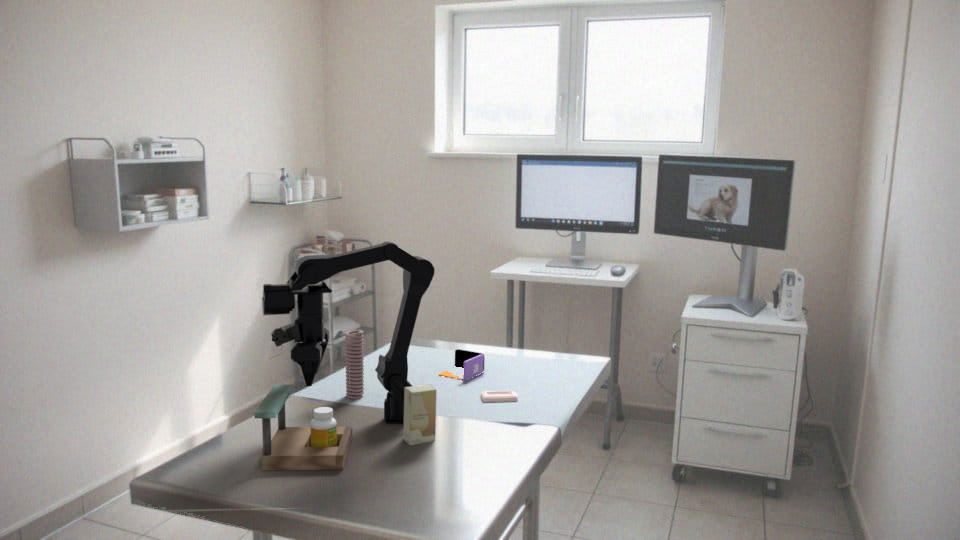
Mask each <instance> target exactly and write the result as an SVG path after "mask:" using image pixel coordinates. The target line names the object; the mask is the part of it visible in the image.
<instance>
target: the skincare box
mask: <svg viewBox="0 0 960 540" xmlns="http://www.w3.org/2000/svg"><path fill="white" fill-rule="evenodd" d="M436 419H437V389H436V388H435V387H434V386H433V385H431V384H423V385H421V384H419V385H412V387H405V389H404V423H403V433H402V434H403V437H402V439H403V440H404V441H405V443H407V444H408V445H409V446H414V445H419V444H425V443H430V442H435V441H436V426H437V425H436V423H437V421H436Z"/></svg>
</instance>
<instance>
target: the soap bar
mask: <svg viewBox="0 0 960 540" xmlns="http://www.w3.org/2000/svg"><path fill="white" fill-rule="evenodd" d="M480 397H481V399H482V402H483V403H498V402H499V403H501V402H504V403H505V402H517V401H518V400H519V397H518V395H517V393H516V391H515V390H484V391H483V390H482V391H481V392H480Z"/></svg>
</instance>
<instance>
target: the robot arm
mask: <svg viewBox="0 0 960 540" xmlns="http://www.w3.org/2000/svg"><path fill="white" fill-rule="evenodd" d="M386 261H390V262H392V263H393V264H395V265H396V266H397V267H399V268H401V269H403V271H402V287H403V294H402V297H401V302H400V306H399V310H398V313H397V318H396V322H395V325H394V328H393V333H392V338H391V341H390V346H389V348H388V350H387V352H386V353H385V355H382V354H379V355H378V364H377V365H376V368H375V369H374V371H375V372H376V377H377V380H378V381H379V383H380V384H381V386H382V387H383V388H384V390H385V391H387V393H386V398H385V399H384V401H383V413H384V414H383V415H384V417H383V419H385V424H404V389H405V387H412V386H413V385H412V384H411V382H410V381H409V380H408V376H409V375H408V374H409V364H408V363H409V362H408V355H409V354H408V353H409V349H410V345H411V342H412V336H413V334H414V330H415V327H416V321H417V317H418V314H419V309H420V306H421V302H422V301H421V300H422V298H423V296H424V295H425V293H426V292H427V290H428V289H429V288H430V285H431V284H432V281H433V278H434V276H435V267H434V265H433V263H432V262H430V261H429V260H427V259H425V258H424V257H422V256H418V255H412V254H410V253H408V251H407V252H406V251H405V250H403V249H402V248H400V247H399V246H398V245H397V244H396V243H394V242H391V241H389V240H388V241H383V242H382V243H379V244H374V245H369V246H365V247H361V248H358V249H354V250H349V251H344V252H340V253H336V254H315V255H312V254H311V255H303V256H302V257H300V258H299V259H298V260H297V262H296V263H295V268H294V269H295V271H294V272H293V273H292V275H291V276H290V277H289V279H288V280H287V282H286V283H284V284H283V283H280V284H278V283H277V284H272V283H271V284H270V283H264V284H263V286H262V288H263V289H262V296H261V304H262V306H261V307H262V314H263V316H275V315H276V316H278V315H279V316H280V315H290V314H291V312H293V311H294V310H295V309H296V308H297V310H296V311H297V313H296V315H297V317H296V319H294V322H292V323H289V324H287V325H283V326H282V325H281V326H280V327H276V328H275V329H274V330H272V331H271V333H270V335H271V341H272V342H273V343H274V345H275V347H277V348H278V347H280V346H282V345H284V344H286V343H289V342H291V341H292V342H293V341H294V343H295V344H294V345H293V346H292V348H291V350H290V360H292V361H293V362H295V363H297V364H298V366H300V369H301V373H302V376H303V379H304V383H305V385H306V387H312V386H313V382H314V380H315V377H316V375H317V374H318V372H319V369H320V366H321V363H322V361H323V358H324V355H325V353H326V351H327V349H328V344H329V341H330V330H329V329H327V328H326V327H324V326H325V325H324V321H326V319H325V318H326V315H325V314H324V294H331V293H333V289H332V288H331V287H329V286H328V285H327V282H325V281H326V280H328V279H330V278H332V277H333V276H335V275H336V274H340V273H343V272H346V271H349V270H354V269H359V268H362V267H366V266H370V265H373V264H379V263H383V262H386ZM295 295H296V298H295ZM295 306H296V307H295Z"/></svg>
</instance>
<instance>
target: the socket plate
mask: <svg viewBox="0 0 960 540" xmlns="http://www.w3.org/2000/svg"><path fill="white" fill-rule="evenodd" d="M293 390H294V384H274V385H273V386H272V388H271V389H270V390H269V391H268V393H267V394H266V396H265V397H264V398H263V400H262V401H261V403H260V404H259V405H258V407H257V408H256V409H255V411H254V413H253V414H254V419H261V427H262V456H261V460H262V461H261V464H262V466H261V467H262V471H320V470H321V471H324V470H325V471H326V470H327V471H328V470H329V471H330V470H332V471H334V470H335V471H336V470H338V471H340V470H344V469H345V467H346V466H345V464H346V462H347V458H348V456H349V452H350V448H351V444H352V442H353V426H337V447H311V426H286V424H287V423H286V421H287V420H286V402H287V400H288V399H289V397H290V396H291V394H292V392H293ZM276 418H277V430H276V432H274V435H273V437H272V425H271V423H272V422H271V419H276Z"/></svg>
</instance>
